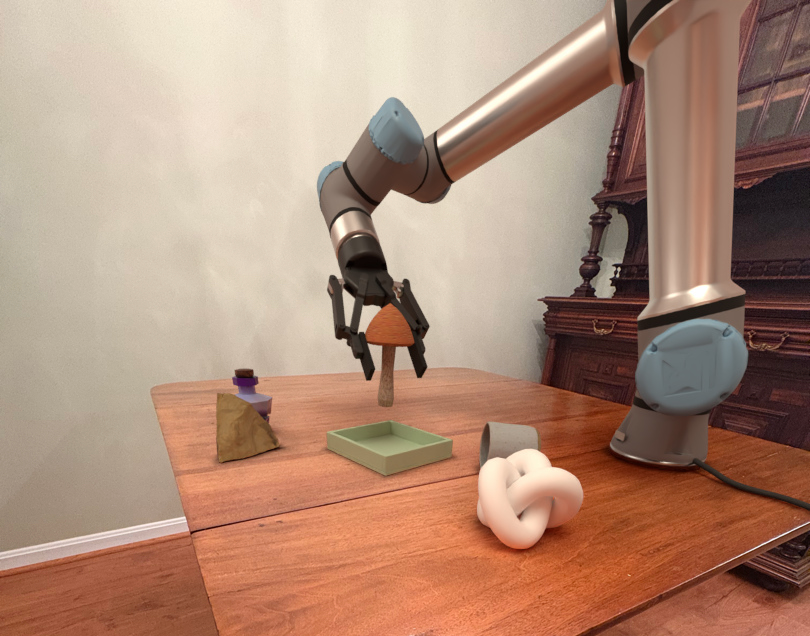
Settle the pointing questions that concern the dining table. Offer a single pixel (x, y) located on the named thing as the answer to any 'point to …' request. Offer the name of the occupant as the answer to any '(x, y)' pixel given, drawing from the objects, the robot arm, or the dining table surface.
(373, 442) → the tray
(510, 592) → the dining table surface
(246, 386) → the potion bottle
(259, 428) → the rock
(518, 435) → the ceramic mug
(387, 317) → the mushroom
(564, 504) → the white knot sculpture
